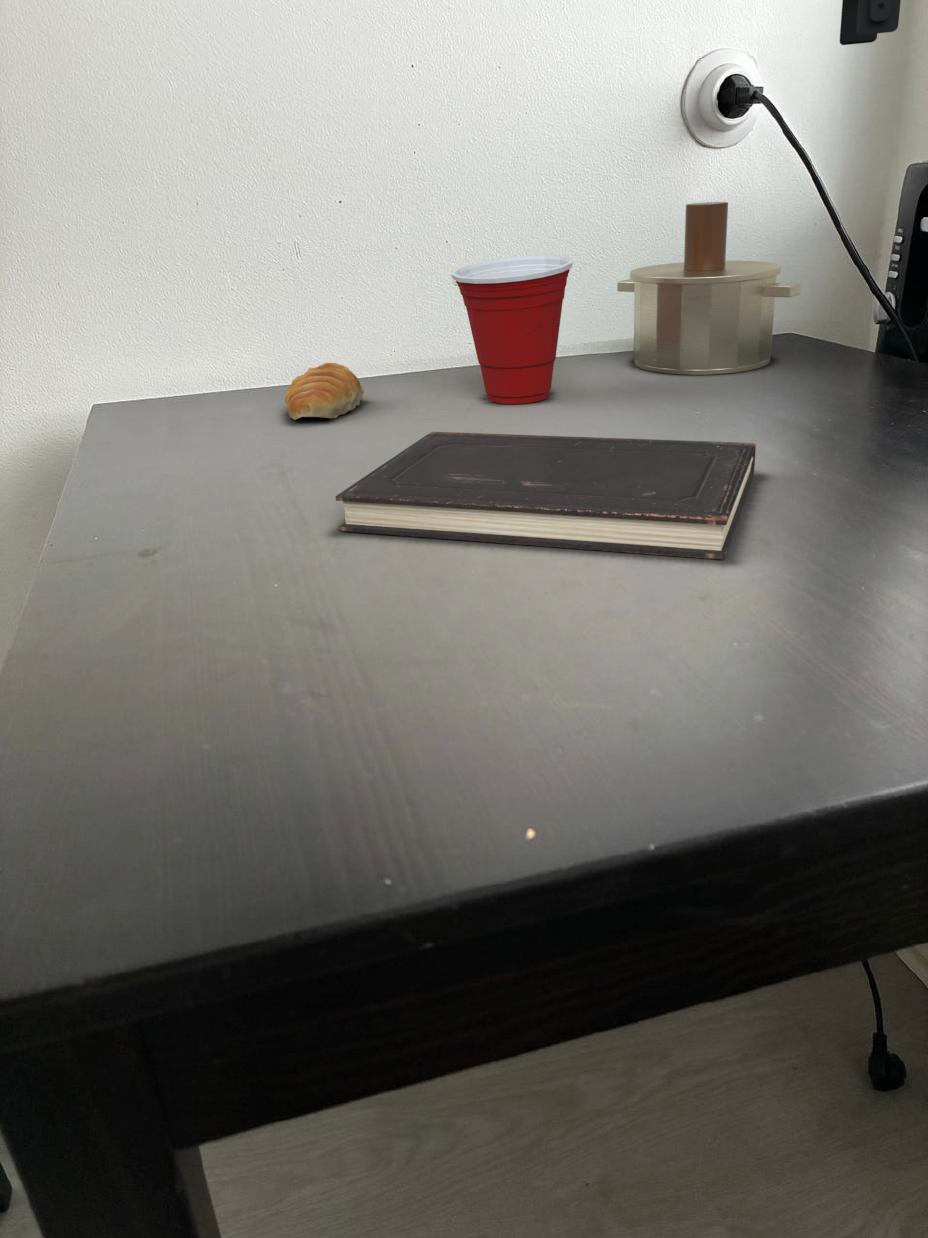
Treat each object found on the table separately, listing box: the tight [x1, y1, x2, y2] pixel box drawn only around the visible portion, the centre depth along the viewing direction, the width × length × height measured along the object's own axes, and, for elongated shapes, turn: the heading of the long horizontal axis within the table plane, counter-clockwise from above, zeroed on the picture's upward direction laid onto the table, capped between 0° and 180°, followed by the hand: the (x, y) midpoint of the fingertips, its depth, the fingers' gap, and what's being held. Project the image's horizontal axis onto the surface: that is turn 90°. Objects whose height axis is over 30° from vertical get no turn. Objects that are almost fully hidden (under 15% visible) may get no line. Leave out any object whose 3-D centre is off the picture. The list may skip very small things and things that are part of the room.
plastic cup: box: [450, 254, 574, 405], centre depth 90 cm, size 11×11×12 cm
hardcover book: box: [335, 431, 757, 561], centre depth 63 cm, size 16×23×2 cm
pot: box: [616, 275, 802, 376], centre depth 101 cm, size 14×19×8 cm
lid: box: [629, 201, 782, 284], centre depth 98 cm, size 15×15×7 cm
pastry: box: [284, 362, 365, 421], centre depth 90 cm, size 9×7×4 cm
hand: (866, 38), depth 88 cm, fingers open, 9 cm apart
